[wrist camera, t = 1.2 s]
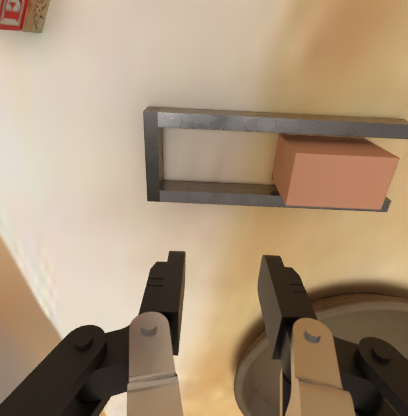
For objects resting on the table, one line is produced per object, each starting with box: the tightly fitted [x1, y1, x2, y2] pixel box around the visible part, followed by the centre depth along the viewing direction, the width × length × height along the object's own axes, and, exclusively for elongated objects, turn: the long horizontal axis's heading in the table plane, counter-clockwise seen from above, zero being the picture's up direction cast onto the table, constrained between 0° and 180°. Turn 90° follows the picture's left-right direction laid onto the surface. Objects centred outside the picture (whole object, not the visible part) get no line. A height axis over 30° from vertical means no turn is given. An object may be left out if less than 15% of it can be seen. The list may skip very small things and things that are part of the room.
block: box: [272, 134, 400, 210], centre depth 26 cm, size 8×4×6 cm, turn 87°
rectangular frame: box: [143, 107, 408, 212], centre depth 28 cm, size 23×8×2 cm, turn 87°
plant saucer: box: [234, 293, 408, 416], centre depth 41 cm, size 31×31×5 cm
